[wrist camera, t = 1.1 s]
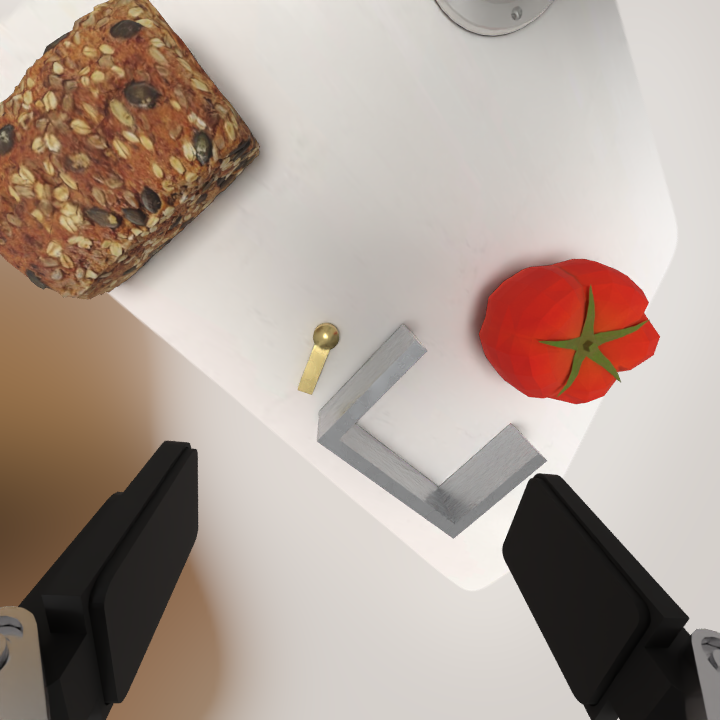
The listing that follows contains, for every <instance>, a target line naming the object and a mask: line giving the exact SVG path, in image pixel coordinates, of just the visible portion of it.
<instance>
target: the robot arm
mask: <svg viewBox="0 0 720 720" xmlns="http://www.w3.org/2000/svg"><path fill="white" fill-rule="evenodd" d="M436 1H437V2H438V4H439V5H440V7H441V8H442V10H443V11H444V12H445V13H446V14H447V15H448V16H449V17H450V18H451V19H452V20H453V21H454V22H455V23H457V24H459V25H460V26H462V27H463V28H465V29H466V30H469V31H472V32H475V33H478V34H481V35H493V36H496V35H502V34H508V33H511V32H513V31H516V30H518V29H521V28H523V27H525V26H526V25H528V24H529V23H531V22H532V21H533V20H535V19H536V18H537V17H539V16H540V15H541V14H542V13H543V12H544V11H545V10H546V9H547V8H548V7H549V6H550V4H551V3H552V2H553V1H554V0H436ZM512 17H513V18H514V19H513V18H512ZM197 532H198V453H197V450H196V449H191V446H190V443H187V442H176V441H164V443H162V445H161V446H160V447H159V448H158V450H157V451H156V452H155V453H154V455H153V456H152V457H151V458H150V460H149V461H148V462H147V463H146V465H145V466H144V467H143V468H142V470H141V471H140V472H139V473H138V475H137V476H136V477H135V478H134V480H133V481H132V482H131V483H130V485H129V486H128V487H127V488H126V490H125V491H124V492H117V493H115V494H113V495H112V496H111V497H110V498H109V499H108V500H107V501H106V502H105V503H104V505H103V506H102V507H101V508H100V509H99V511H98V512H97V513H96V514H95V515H94V516H93V518H92V519H91V520H90V521H89V522H88V524H87V525H86V526H85V527H84V528H83V530H82V531H81V532H80V533H79V534H78V535H77V537H76V538H75V539H74V541H72V543H71V544H70V545H69V546H68V548H67V549H66V550H65V551H64V552H63V553H62V555H61V556H60V557H59V558H58V560H57V561H56V562H55V563H54V564H53V565H52V567H51V568H50V569H49V570H48V571H47V573H46V574H45V575H44V576H43V577H42V579H41V580H40V581H39V582H38V583H37V585H36V586H35V587H34V588H33V589H32V591H31V592H30V593H29V594H28V595H27V596H26V598H25V599H24V600H23V601H22V602H21V604H20V605H19V606H18V607H12V606H7V607H1V608H0V720H106V718H107V716H108V714H109V712H110V710H111V708H112V705H113V703H121V702H122V701H123V700H124V698H125V697H126V695H127V693H128V691H129V689H130V686H131V684H132V682H133V680H134V677H135V675H136V673H137V671H138V668H139V666H140V664H141V662H142V659H143V657H144V655H145V653H146V650H147V648H148V646H149V644H150V642H151V639H152V637H153V635H154V632H155V630H156V628H157V626H158V624H159V621H160V619H161V617H162V615H163V612H164V610H165V608H166V606H167V603H168V601H169V599H170V597H171V594H172V592H173V590H174V588H175V585H176V583H177V581H178V578H179V576H180V574H181V572H182V569H183V567H184V565H185V563H186V560H187V558H188V556H189V554H190V552H191V549H192V547H193V545H194V542H195V540H196V537H197ZM502 551H503V557H504V560H505V562H506V564H507V566H508V568H509V570H510V571H511V573H512V575H513V577H514V579H515V581H516V583H517V585H518V587H519V589H520V591H521V593H522V595H523V597H524V599H525V601H526V603H527V605H528V607H529V609H530V611H531V613H532V614H533V616H534V618H535V620H536V622H537V624H538V626H539V628H540V630H541V632H542V634H543V636H544V638H545V640H546V642H547V644H548V646H549V648H550V650H551V652H552V654H553V655H554V657H555V659H556V661H557V663H558V665H559V667H560V669H561V671H562V673H563V675H564V677H565V679H566V681H567V683H568V685H569V687H570V689H571V691H572V693H573V694H574V696H575V697H576V699H577V700H578V701H579V702H580V703H582V704H583V705H584V707H585V709H586V711H587V713H588V715H589V717H590V719H591V720H617V719H618V717H619V719H620V720H720V633H718V632H716V631H712V630H708V629H696V630H695V631H694V632H693V633H692V634H691V635H690V634H689V633H688V632H687V631H686V630H685V629H684V628H683V627H684V625H685V624H686V623H687V621H688V620H689V617H688V616H687V615H686V614H685V613H684V612H683V611H682V609H681V608H680V607H679V606H678V605H677V604H676V603H675V602H674V601H673V600H672V598H671V597H670V596H669V595H668V594H667V593H666V592H665V591H664V590H663V588H662V587H661V586H660V585H659V584H658V583H657V582H656V581H655V580H654V579H653V578H652V576H651V575H650V574H649V573H648V572H647V571H646V570H645V569H644V568H643V567H642V565H641V564H640V563H639V562H638V561H637V560H636V559H635V558H634V557H633V555H632V554H631V553H630V552H629V551H628V550H627V549H626V548H625V547H624V546H623V545H622V544H621V542H620V541H619V540H618V539H617V538H616V537H615V536H614V535H613V534H612V532H610V530H609V529H608V528H607V527H606V526H605V525H604V524H603V523H602V521H601V520H600V519H599V518H598V517H597V516H596V515H595V514H594V513H593V512H592V510H591V509H590V508H589V507H588V506H587V505H586V504H585V503H584V502H583V500H582V499H581V498H580V497H579V496H578V495H577V494H576V493H575V492H574V491H573V489H572V488H571V487H570V486H569V485H568V484H567V483H566V482H565V481H564V480H563V478H561V477H560V476H558V475H552V474H541V473H539V474H536V475H535V476H534V477H533V478H531V479H530V480H529V481H528V484H527V486H526V489H525V491H524V494H523V496H522V499H521V501H520V504H519V506H518V509H517V511H516V514H515V516H514V519H513V521H512V524H511V526H510V529H509V531H508V534H507V536H506V539H505V541H504V544H503V548H502Z"/></svg>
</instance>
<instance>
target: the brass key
mask: <svg viewBox="0 0 720 720" xmlns="http://www.w3.org/2000/svg"><path fill="white" fill-rule="evenodd" d="M313 340H314V343H315V344H314V347H313V349H312V352H311V355H310V357H309V360H308V362H307V365H306V368H305V370H304V373H303V375H302V378H301V381H300V383H299V386H298V390H299V391H302V392H305V393H308V394H311V395H312V393H313V390H314V388H315V385H316V383H317V380H318V378H319V375H320V373H321V370H322V368H323V365H324V363H325V361H326V358H327V356H328V353H329V351H330V349H332V348H334V347H335V346H336V345H337V344H338V341H339V333H338V330H337V328H336V327H335V326H334V325H332V324H329V323H323V324H320V325H319V326H317V327H316V329H315V331H314V335H313Z"/></svg>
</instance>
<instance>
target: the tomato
mask: <svg viewBox="0 0 720 720" xmlns="http://www.w3.org/2000/svg"><path fill="white" fill-rule="evenodd" d="M648 303H649V302H648V300H647V298H646V296H645V294H644V292H643V291H642V290H641V289H640V288H639V287H638V286H637V285H636V284H635V283H634V282H633V281H632V280H631V279H630V278H629V277H628V276H626V275H625V274H623V273H621V272H619V271H618V270H616V269H614V268H611V267H608V266H606V265H603V264H601V263H598V262H595V261H591V260H587V259H571V260H567V261H564V262H560V263H556V264H553V265H548V266H536V267H529V268H526V269H523V270H521V271H520V272H518V273H516V274H515V275H513V276H512V277H510V278H508V279H507V280H505V281H504V282H503V283H502V284H501V285H500V286H499V287H498V288H497V289H496V290H495V291H494V292H493V293H492V294H491V295H490V296H489V297H488V304H487V310H486V316H485V319H484V322H483V324H482V327H481V330H480V332H479V337H480V340H481V344H482V347H483V351H484V353H485V356H486V358H487V359H488V361H489V362H490V363H491V365H492V366H493V367H494V369H495V370H496V371H497V372H498V374H499V375H500V376H501V377H502V378H503V379H504V380H505V381H507V382H508V383H509V384H511V385H512V386H513V387H515V388H516V389H517V390H519V391H520V392H522V393H523V394H525V395H527V396H528V397H535V398H547V397H548V398H552V399H556V400H561V401H565V402H569V403H573V404H580V403H587V402H590V401H592V400H595V399H597V398H600V397H602V396H604V395H605V394H606V393H607V391H608V390H609V389H610V387H611V386H612V385H613V383H614V382H615V381H616V379H617V380H618V381H620V378H619V375H618V373H617V372H620V371H627V370H631V369H633V368H634V367H636V366H637V365H639V364H641V363H642V362H644V361H645V360H647V359H648V358H650V357H651V356H653V355H654V352H655V349H656V346H657V344H658V341H659V338H660V336H659V334H658V333H657V331H656V330H655V328H654V327H653V325H652V324H651V323H650V321H649V320H648V318H647V317H646V315H645V314H644V311H645V309H646V307H647V305H648ZM620 382H621V381H620Z"/></svg>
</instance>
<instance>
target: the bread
mask: <svg viewBox="0 0 720 720" xmlns="http://www.w3.org/2000/svg"><path fill="white" fill-rule="evenodd" d="M259 147H260V146H259V144H258V143H257V141H256V139H255V138H254V136H253V135H252V133H251V132H250V130H249V128H248V127H247V125H246V124H245V123H244V121H243V120H242V119H241V117H240V116H239V115H238V113H237V112H236V110H235V109H234V108H233V106H232V105H231V104H230V102H229V101H228V100H227V99H226V98H225V97H224V96H223V95H222V93H221V92H220V91H219V89H218V88H217V87H216V86H215V84H214V83H213V82H212V80H211V79H210V78H209V76H208V75H207V74H206V73H205V71H204V70H203V69H202V68H201V66H200V65H199V64H198V62H197V61H196V59H195V58H194V56H193V55H192V53H191V52H190V50H189V49H188V47H187V46H186V45H185V43H184V42H183V41H182V40H181V39H180V37H179V36H178V35H177V34H176V33H175V32H174V31H173V30H172V29H171V27H170V26H169V25H168V23H167V22H166V21H165V20H164V18H163V17H162V16H161V14H160V13H159V12H158V11H157V9H156V8H155V7H154V6H153V5H152V4H151V3H150V1H149V0H109V1H108V2H105V3H102V4H99V5H97V6H95V7H94V11H92V12H91V13H89V14H87V15H85V16H83V17H81V18H79V19H78V20H77V21H75V23H74V26H73V30H72V31H70V32H68V33H66V34H64V35H63V36H61V37H60V38H58V39H57V40H55V41H54V42H52V43H51V44H49V45H48V46H47V47H46V49H45V51H44V54H43V56H42V57H41V58H40V59H37V60H36V61H35V63H34V65H33V66H31V67H29V68H28V69H27V71H26V75H24V77H23V78H22V80H21V82H20V84H19V85H18V86H16V87H15V90H14V92H13V93H12V94H11V95H10V96H9V97H8V98H7V99H6V100H4V101H3V102H1V103H0V254H1V255H2V256H3V257H4V258H5V259H6V260H7V261H8V262H9V263H10V264H12V265H13V266H14V267H15V268H17V269H18V270H19V271H20V272H22V273H23V274H24V275H26V276H27V277H28V278H29V279H30V280H31V281H32V282H33V283H34V284H35V285H37V286H38V287H40V288H42V289H45V288H46V287H47V288H49V289H52V290H54V291H56V292H58V293H59V294H60V295H61V296H62V297H73V298H75V297H76V298H80V299H91V298H93V297H95V296H97V295H99V294H101V295H102V294H103V293H105V292H110V291H111V290H113V289H114V288H115V287H118V286H119V285H120V284H121V283H123V282H124V281H126V280H127V279H129V278H130V277H131V276H132V275H133V274H135V273H136V271H137V270H138V269H139V268H141V267H142V266H143V265H144V264H145V263H146V262H147V261H148V260H149V259H150V257H151V256H153V255H154V254H155V253H156V252H158V251H159V250H160V249H161V248H162V247H164V246H165V245H166V244H168V243H169V242H170V240H171V239H172V238H173V237H174V236H175V235H177V234H178V233H179V232H180V231H182V230H183V229H184V227H185V226H186V225H187V224H188V223H190V222H191V221H192V220H193V219H194V218H196V217H197V216H198V215H199V214H200V213H201V212H202V211H203V210H204V209H205V208H206V207H207V206H208V205H209V204H210V203H211V202H212V201H213V200H214V199H215V197H216V196H217V195H218V194H219V193H220V192H222V191H224V190H225V189H226V188H227V187H228V186H229V185H230V184H231V183H232V182H233V181H234V180H235V178H236V176H237V175H239V174H241V173H242V171H243V170H244V169H245V168H246V166H248V165H249V164H250V163H251V162H252V161H253V160H254V158H255V157H257V156H258V155H259Z"/></svg>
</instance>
